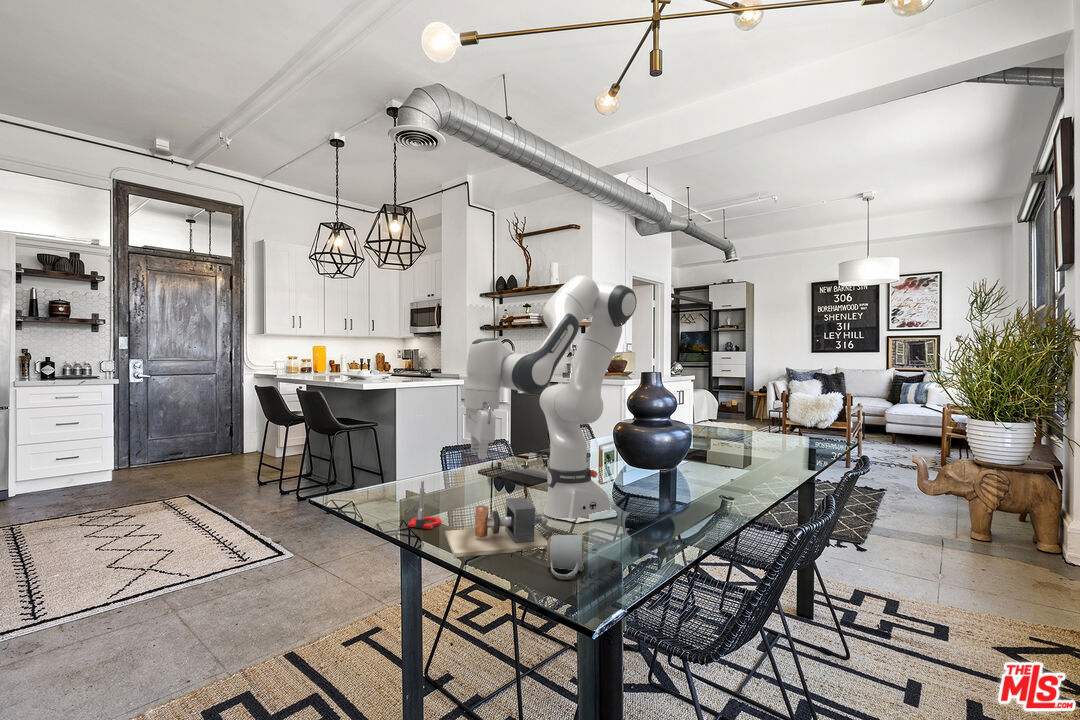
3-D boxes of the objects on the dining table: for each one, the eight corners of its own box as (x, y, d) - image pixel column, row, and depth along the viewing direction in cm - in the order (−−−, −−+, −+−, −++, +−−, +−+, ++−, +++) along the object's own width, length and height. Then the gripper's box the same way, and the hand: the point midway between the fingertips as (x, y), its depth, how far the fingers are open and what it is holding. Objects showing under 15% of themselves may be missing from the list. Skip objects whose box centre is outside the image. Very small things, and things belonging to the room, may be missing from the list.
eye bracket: (523, 528, 143) (524, 497, 143) (534, 541, 133) (535, 508, 133) (504, 530, 141) (505, 498, 141) (514, 543, 132) (516, 509, 131)
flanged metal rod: (541, 526, 142) (542, 500, 142) (548, 533, 137) (549, 506, 137) (472, 531, 136) (473, 504, 136) (477, 539, 131) (477, 511, 131)
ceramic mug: (548, 560, 124) (549, 528, 124) (583, 563, 123) (584, 530, 123) (544, 580, 113) (545, 545, 113) (582, 583, 112) (583, 547, 112)
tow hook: (417, 519, 153) (404, 528, 143) (419, 474, 153) (406, 480, 144) (445, 522, 151) (433, 531, 142) (447, 476, 152) (436, 482, 143)
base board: (532, 528, 147) (532, 524, 147) (551, 548, 131) (551, 544, 131) (444, 534, 139) (444, 530, 139) (454, 557, 124) (454, 553, 124)
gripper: (503, 405, 126) (499, 463, 126) (486, 398, 146) (482, 448, 146) (477, 404, 124) (473, 463, 124) (463, 397, 144) (459, 447, 144)
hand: (478, 455), depth 135 cm, fingers open, 8 cm apart
